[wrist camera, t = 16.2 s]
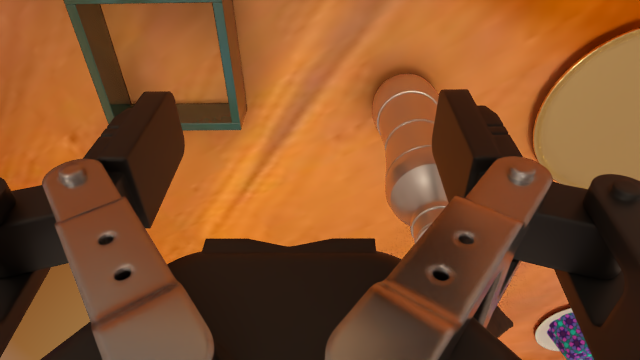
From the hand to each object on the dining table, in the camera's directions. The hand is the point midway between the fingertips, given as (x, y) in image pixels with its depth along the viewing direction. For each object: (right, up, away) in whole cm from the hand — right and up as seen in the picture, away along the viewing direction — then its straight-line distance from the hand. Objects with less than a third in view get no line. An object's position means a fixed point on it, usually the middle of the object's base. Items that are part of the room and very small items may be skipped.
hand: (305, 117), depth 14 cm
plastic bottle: (+9, +7, +31) cm, 33 cm away
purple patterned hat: (+39, -24, +54) cm, 71 cm away
